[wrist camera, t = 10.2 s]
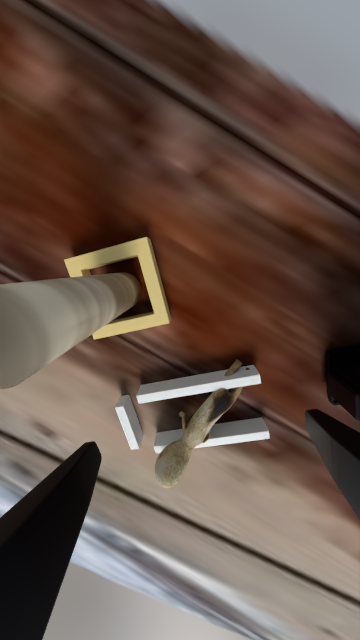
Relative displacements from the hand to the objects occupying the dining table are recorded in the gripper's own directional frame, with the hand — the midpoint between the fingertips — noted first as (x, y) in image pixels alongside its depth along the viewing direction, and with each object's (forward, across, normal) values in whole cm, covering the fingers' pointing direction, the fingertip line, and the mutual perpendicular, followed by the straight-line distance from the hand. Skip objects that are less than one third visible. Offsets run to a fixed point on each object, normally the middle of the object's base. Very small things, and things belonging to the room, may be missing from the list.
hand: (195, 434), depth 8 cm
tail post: (+13, +6, -6) cm, 15 cm away
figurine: (+13, +1, +9) cm, 16 cm away
